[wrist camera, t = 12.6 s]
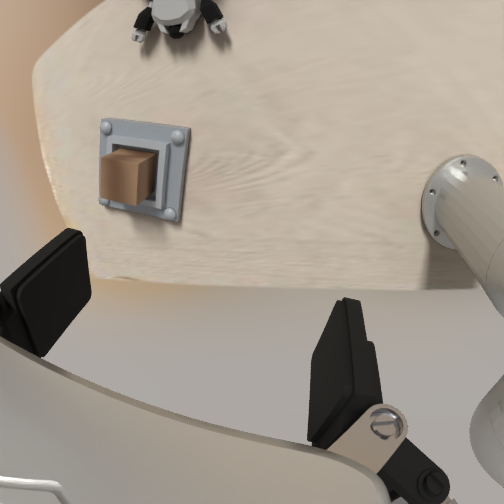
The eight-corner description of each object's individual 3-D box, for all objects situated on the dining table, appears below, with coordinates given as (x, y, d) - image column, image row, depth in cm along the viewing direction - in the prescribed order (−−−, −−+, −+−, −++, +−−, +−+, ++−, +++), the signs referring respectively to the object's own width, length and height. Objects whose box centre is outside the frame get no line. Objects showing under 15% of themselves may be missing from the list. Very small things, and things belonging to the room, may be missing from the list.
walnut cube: (157, 153, 37) (138, 163, 32) (154, 191, 39) (136, 205, 35) (122, 147, 37) (100, 157, 33) (120, 184, 39) (100, 197, 35)
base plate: (190, 128, 36) (183, 131, 34) (180, 218, 42) (173, 225, 40) (106, 117, 36) (96, 120, 34) (103, 201, 42) (94, 207, 40)
